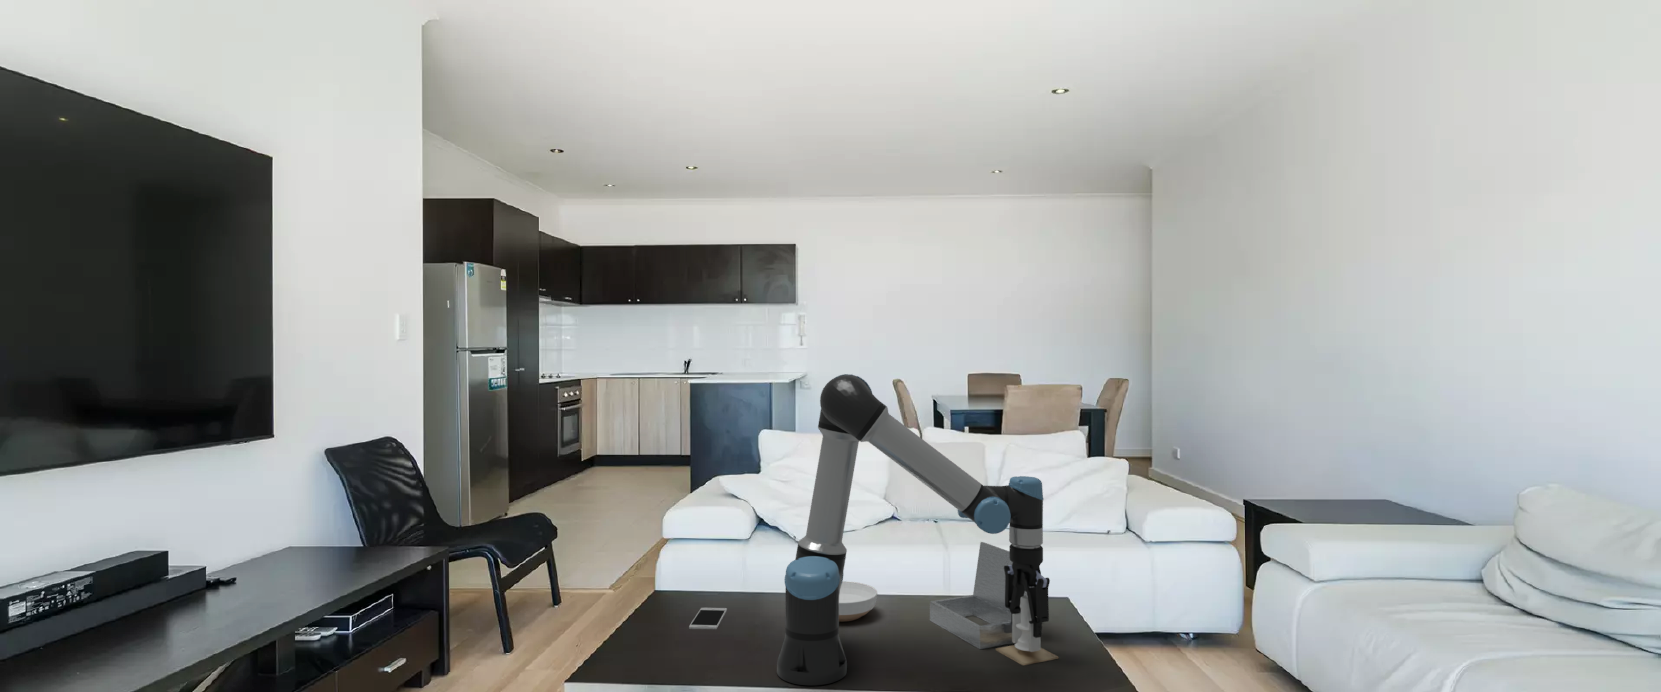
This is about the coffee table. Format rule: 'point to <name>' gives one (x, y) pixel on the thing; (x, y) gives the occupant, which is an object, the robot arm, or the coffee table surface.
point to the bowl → (855, 600)
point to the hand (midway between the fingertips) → (1026, 645)
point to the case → (980, 604)
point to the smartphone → (708, 618)
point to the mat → (1026, 655)
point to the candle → (1024, 624)
